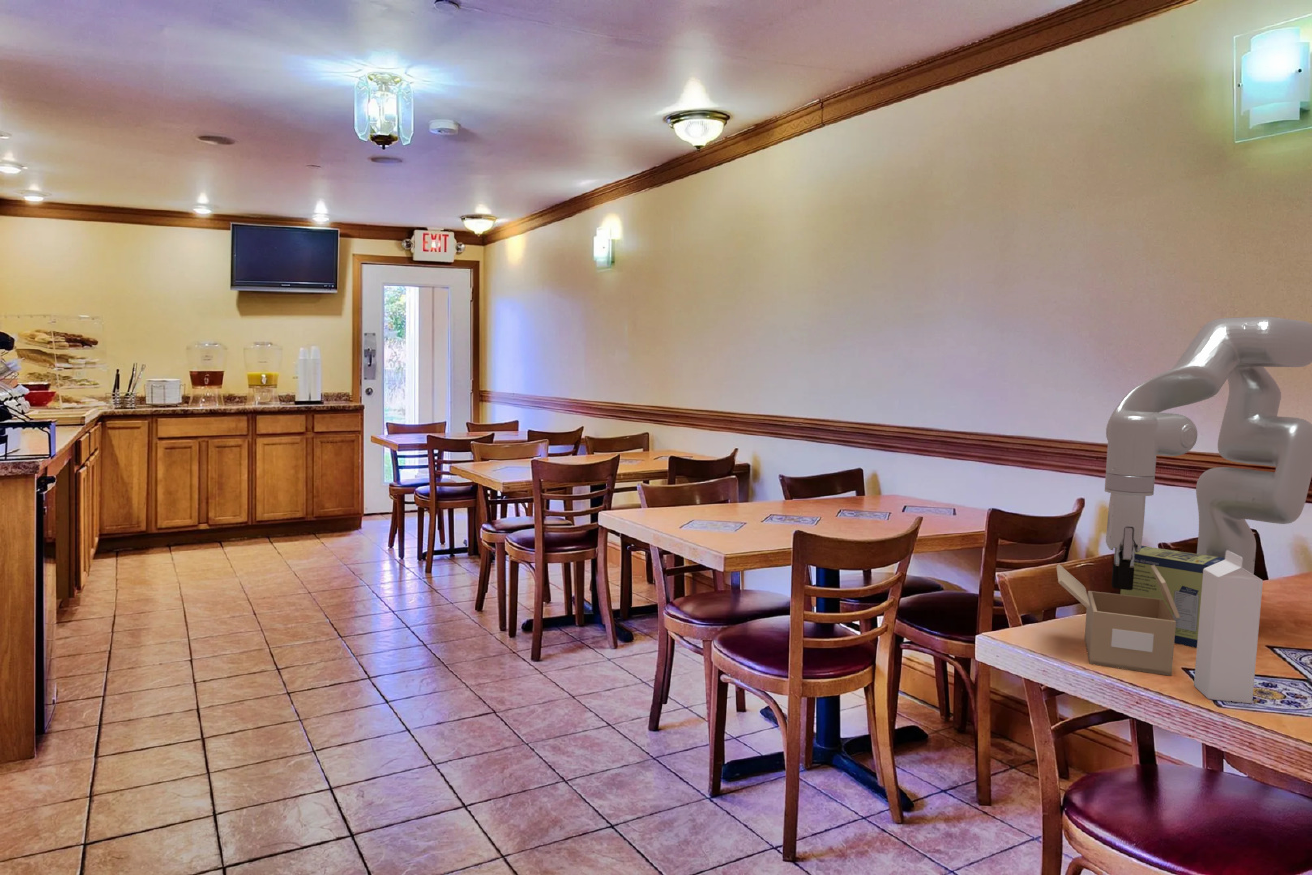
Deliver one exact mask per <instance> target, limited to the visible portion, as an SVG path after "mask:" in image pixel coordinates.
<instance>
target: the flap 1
mask: <svg viewBox="0 0 1312 875" xmlns="http://www.w3.org/2000/svg"><path fill="white" fill-rule="evenodd" d="M1055 566H1056V572H1057V573H1056V574H1057V579H1058V580H1057V582H1058V584H1059V585H1060V586H1061V587H1062V588H1064V589H1065V590H1066V591H1067V592H1068V593H1069V594H1071V596H1073V597H1074V598H1075V599H1076V600H1077V601H1078V602H1079V603H1080V604H1082V606H1084V607H1085V608H1086V609H1087V608H1088V607H1089V606H1090V604H1089V600H1088V591H1087V589H1086V586H1084V585H1083V584H1082V583H1081V582H1080V581H1079V580H1078V579H1076V578H1075V576H1073V575H1072V574H1071V573H1070V572H1068V570H1067V569H1065V567H1063V566H1062V565H1061V564H1060V563H1058V564H1057V565H1055Z"/></svg>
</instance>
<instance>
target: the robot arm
mask: <svg viewBox="0 0 1312 875" xmlns="http://www.w3.org/2000/svg"><path fill="white" fill-rule="evenodd" d="M1310 364H1312V323H1311V322H1309V321H1305V320H1297V319H1290V318H1284V317H1275V316H1249V317H1248V316H1245V317H1222V318H1217V319H1212V320H1211V321H1208V322H1207V323H1206V324H1204V325H1203V327H1201V328H1200V330H1199V331H1198V332H1197V333H1196V335H1195V337H1194V338H1193V339H1192V341H1190V344H1189V345H1188V346H1187V348H1186V349H1185V351H1184V352H1183V354H1181V356H1180V357H1179V359H1178V360H1177V361H1176V363H1175V365H1174V366H1173V367H1172V368H1170V369H1168V370H1165V371H1164V372H1161V373H1159V374H1157V375H1155V376H1153V377H1152V378H1150V379H1148V380H1146V381H1144V382H1142V383H1140V384H1139V385H1137V386H1136V387H1134V388H1133V389H1131V390H1130V391H1128V393H1126V394H1125V396H1124V397H1123V398H1122V399H1121V401H1120V402H1119V403H1118V405H1117V406H1116V407H1115V409H1114V411H1113V412H1112V413H1111V415H1110V417H1109V419H1108V421H1107V424H1106V429H1105V438H1106V439H1107V440H1106V441H1107V450H1106V465H1105V466H1106V467H1105V477H1104V478H1105V479H1104V480H1105V481H1104V483H1105V484H1104V492H1105V493H1108V494H1109V493H1110V496H1109V504H1108V512H1107V524H1106V534H1105V543H1106V546H1107V547H1108V549H1109V550H1110V551H1114V559H1113V564H1112V571H1111V588H1112V589H1117V590H1121V589H1123V590H1132V589H1133V579H1134V555H1135V552H1136V553H1137V552H1139V551H1140V550H1141V546H1142V544H1143V536H1144V526H1145V525H1144V524H1145V516H1146V515H1145V514H1146V498H1147V497H1153V496H1154V492H1155V480H1156V479H1155V478H1156V477H1155V476H1156V465H1157V456H1164V457H1178V456H1182V455H1185V454H1187V453H1188V452H1190V451H1191V450H1192V449H1193V448H1194V447H1195V445H1196V442H1197V440H1198V429H1197V427H1196V424H1195V423H1194V422H1193V420H1191V418H1189V417H1188V416H1186V415H1183V414H1179V413H1171V412H1170V413H1169V412H1168V413H1167V412H1164V411H1167V410H1171V409H1174V408H1178V407H1184V406H1188V405H1192V404H1196V403H1199V402H1202V401H1205V400H1209V399H1211V398H1213V397H1215V396H1216V395H1217V394H1218V393H1219V392H1220V391H1221V389H1222V387H1223V386H1224V385H1225V383H1226V381H1227V383H1228V397H1227V402H1226V405H1225V410H1224V412H1223V413H1224V414H1223V418H1222V421H1221V426H1220V430H1219V434H1218V439H1217V452H1218V454H1219V455H1220V457H1222V458H1223V459H1224V460H1227V461H1230V462H1234V463H1240V464H1249V465H1257V466H1267V467H1268V466H1269V467H1275V471H1266V470H1258V469H1257V470H1255V469H1250V468H1241V467H1240V468H1239V467H1228V466H1219V467H1212V468H1208V469H1207V470H1205V471H1204V472H1203V473H1202V474H1201V475H1200V476H1199V478H1198V479H1197V482H1196V488H1195V491H1196V492H1195V496H1196V503H1197V510H1198V535H1197V536H1198V538H1197V549H1196V554H1200V555H1207V556H1214V557H1221V558H1225V555H1226V550H1228V551H1230V552H1232V553H1234V554H1236V555H1238V556H1240V557H1242V559H1243V561H1242V568H1244V569H1245V570H1247V571H1248V572H1250V573H1252V574H1253V575H1255V574H1254V573H1255V563H1256V562H1255V561H1256V552H1257V542H1256V537H1255V534H1254V532H1253V531H1252V529H1251V527H1250V525H1249V524H1248V522H1247V521H1246V520H1251V521H1256V522H1263V523H1271V524H1278V525H1280V524H1281V525H1287V524H1288V525H1289V524H1292V523H1294V522H1296V521H1297V520H1298V519H1299V518H1300V516H1301V514H1302V513H1303V510H1304V507H1305V505H1306V500H1307V496H1308V492H1309V488H1310V485H1311V480H1312V423H1311V422H1310V421H1308V420H1306V419H1303V418H1299V417H1293V416H1292V417H1291V416H1278V414H1279V408H1280V404H1281V401H1282V392H1281V389H1280V387H1279V385H1278V384H1277V382H1276V380H1275V379H1274V378H1273V377H1272V375H1271V374H1270V373H1269V372H1268V370H1267V369H1266V368H1302V367H1306V366H1309V365H1310ZM1265 367H1266V368H1265Z"/></svg>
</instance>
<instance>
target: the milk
mask: <svg viewBox="0 0 1312 875" xmlns="http://www.w3.org/2000/svg"><path fill="white" fill-rule="evenodd" d="M1242 561H1243V559H1242V557H1240V556H1238V555H1236V554H1234V553H1232V552H1230V551H1228V550H1226V555H1225V560H1223V561H1220V562H1218V563H1216V564H1213V565H1211V566H1209V567H1206V568H1204V569H1203V580H1202V592H1201V605H1200V617H1199V629H1198V641H1197V648H1196V654H1195V655H1196V657H1195V668H1194V678H1193V679H1194V680H1193V686H1194V688H1196V689H1197V690H1198V691H1199V692H1200V693H1201V694H1202V695H1203V696H1204V697H1205V698H1207V699H1208V700H1213V701H1214V700H1215V701H1222V702H1225V701H1226V702H1231V701H1232V703H1241V702H1242V703H1243V704H1253V697H1254V685H1255V676H1256V666H1257V665H1256V664H1257V663H1256V662H1257V661H1256V660H1257V652H1258V641H1259V640H1258V639H1259V631H1260V630H1259V629H1260V628H1259V627H1260V618H1261V604H1262V597H1263V596H1262V594H1263V583H1264V580H1263V579H1261V578H1260V577H1258V576H1257V575H1255V574H1254V575H1253V574H1252V573H1250V572H1248V571H1247V570H1245V569H1244V568H1242ZM1242 703H1241V704H1242Z"/></svg>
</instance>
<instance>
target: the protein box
mask: <svg viewBox="0 0 1312 875" xmlns="http://www.w3.org/2000/svg"><path fill="white" fill-rule="evenodd" d="M1223 560H1225V558H1221V557H1214V556H1207V555H1200V554H1197V553H1193V552H1186V551H1185V552H1184V551H1180V550H1179V551H1178V550H1171V549H1165V548H1158V547H1152V546H1148V545H1147V546H1146V545H1141V550H1140V551H1139V552H1137V553H1136V552H1135V555H1134V579H1133V589H1132V590H1123V589H1120V593H1119V594H1121V595H1130V596H1138V597H1147V598H1155V599H1163V601H1164V603H1165V604H1166V606H1167V608H1168V609H1169V611H1170V613H1171V614H1172V616H1173V618H1174V619H1175V621H1176V628H1175V640H1174V644H1178V645H1181V646H1186V647H1190V646H1191V648H1196V649H1197V641H1198V629H1199V617H1200V605H1201V592H1202V580H1203V569H1204V568H1206V567H1209V566H1211V565H1213V564H1216V563H1218V562H1220V561H1223ZM1152 565H1155V567H1156V568H1157V570H1158V571H1159V573H1160V574H1161V576H1162V577H1163V579H1164V580H1165V582H1166V584H1167V586H1168V589H1169V591H1170V594H1171V596H1172V598H1173V601H1174V603H1175V606H1176V608H1177V610H1178V613H1179V615H1180V617H1179V618H1176V617H1175V615H1174V614H1173V612H1172V610H1171V609H1170V607H1169V605H1168V604H1167V602H1166V600H1165V599H1164V597H1163V594H1162V592H1161V590H1160V587H1159V585H1158V582H1157V580H1156V578H1155V575H1154V573H1153V570H1152V568H1151V566H1152Z"/></svg>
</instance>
